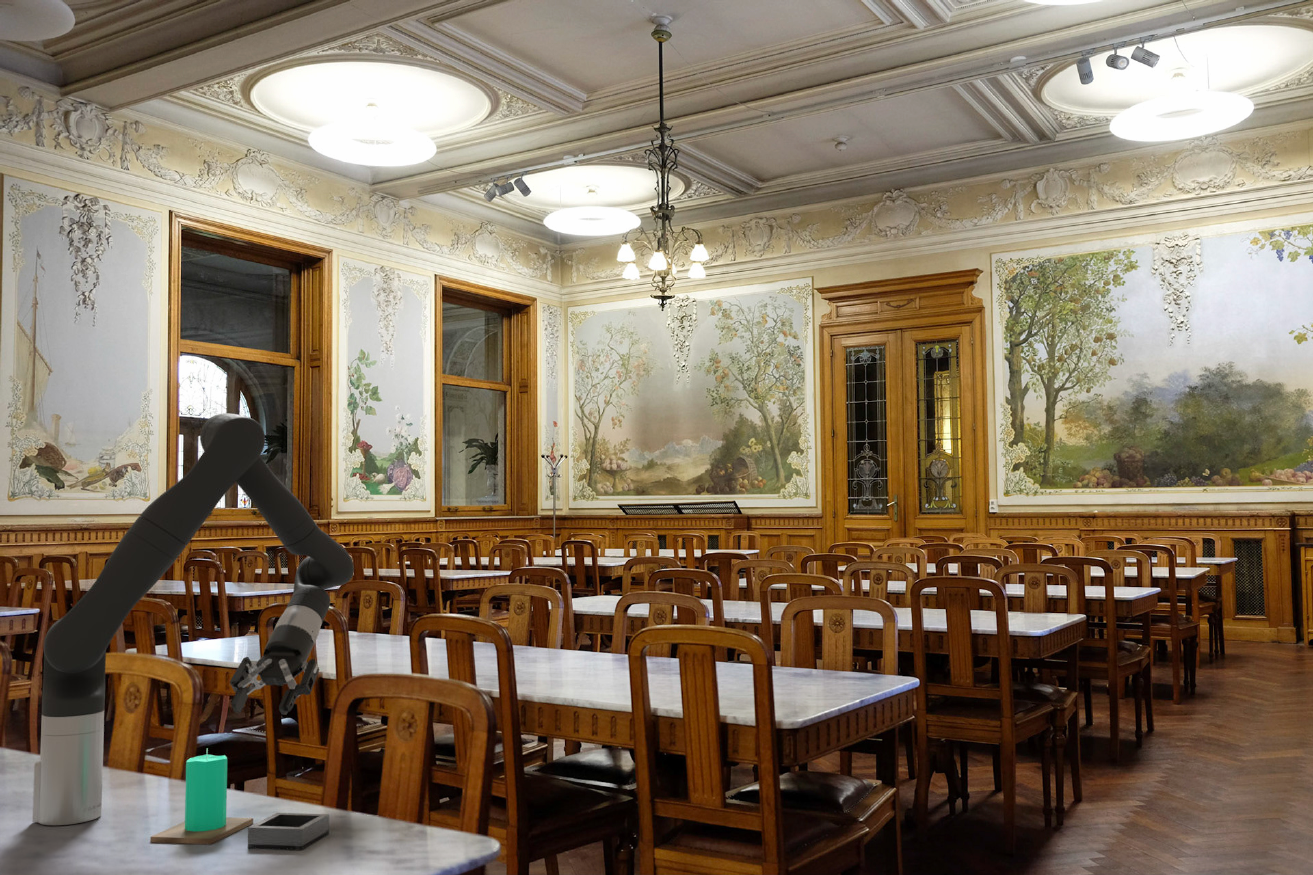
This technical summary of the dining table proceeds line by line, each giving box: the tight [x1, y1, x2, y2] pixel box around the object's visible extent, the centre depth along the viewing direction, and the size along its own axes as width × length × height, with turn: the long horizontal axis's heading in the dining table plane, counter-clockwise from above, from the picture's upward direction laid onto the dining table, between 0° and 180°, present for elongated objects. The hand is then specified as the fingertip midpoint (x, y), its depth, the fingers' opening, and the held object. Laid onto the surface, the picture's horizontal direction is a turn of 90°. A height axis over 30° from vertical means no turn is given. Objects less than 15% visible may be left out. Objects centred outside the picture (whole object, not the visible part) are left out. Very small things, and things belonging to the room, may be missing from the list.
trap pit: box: [247, 812, 330, 851], centre depth 166 cm, size 9×9×3 cm
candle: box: [184, 748, 228, 831], centre depth 173 cm, size 6×6×12 cm
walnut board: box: [149, 816, 254, 845], centre depth 172 cm, size 10×12×1 cm
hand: (258, 710), depth 186 cm, fingers open, 8 cm apart
